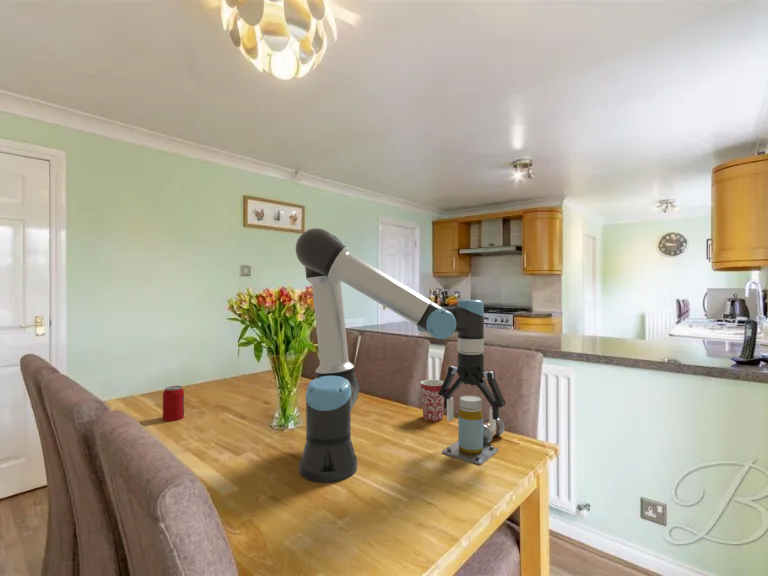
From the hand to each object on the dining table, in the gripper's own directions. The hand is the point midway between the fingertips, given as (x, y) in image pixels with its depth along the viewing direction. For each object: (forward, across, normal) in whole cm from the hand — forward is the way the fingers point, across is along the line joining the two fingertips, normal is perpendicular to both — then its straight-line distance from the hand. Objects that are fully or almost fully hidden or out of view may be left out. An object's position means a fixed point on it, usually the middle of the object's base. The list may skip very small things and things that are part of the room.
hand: (470, 424), depth 116 cm
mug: (+8, +24, -20) cm, 32 cm away
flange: (+8, 0, 0) cm, 8 cm away
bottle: (+7, 0, 0) cm, 7 cm away
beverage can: (+8, +96, +43) cm, 106 cm away
